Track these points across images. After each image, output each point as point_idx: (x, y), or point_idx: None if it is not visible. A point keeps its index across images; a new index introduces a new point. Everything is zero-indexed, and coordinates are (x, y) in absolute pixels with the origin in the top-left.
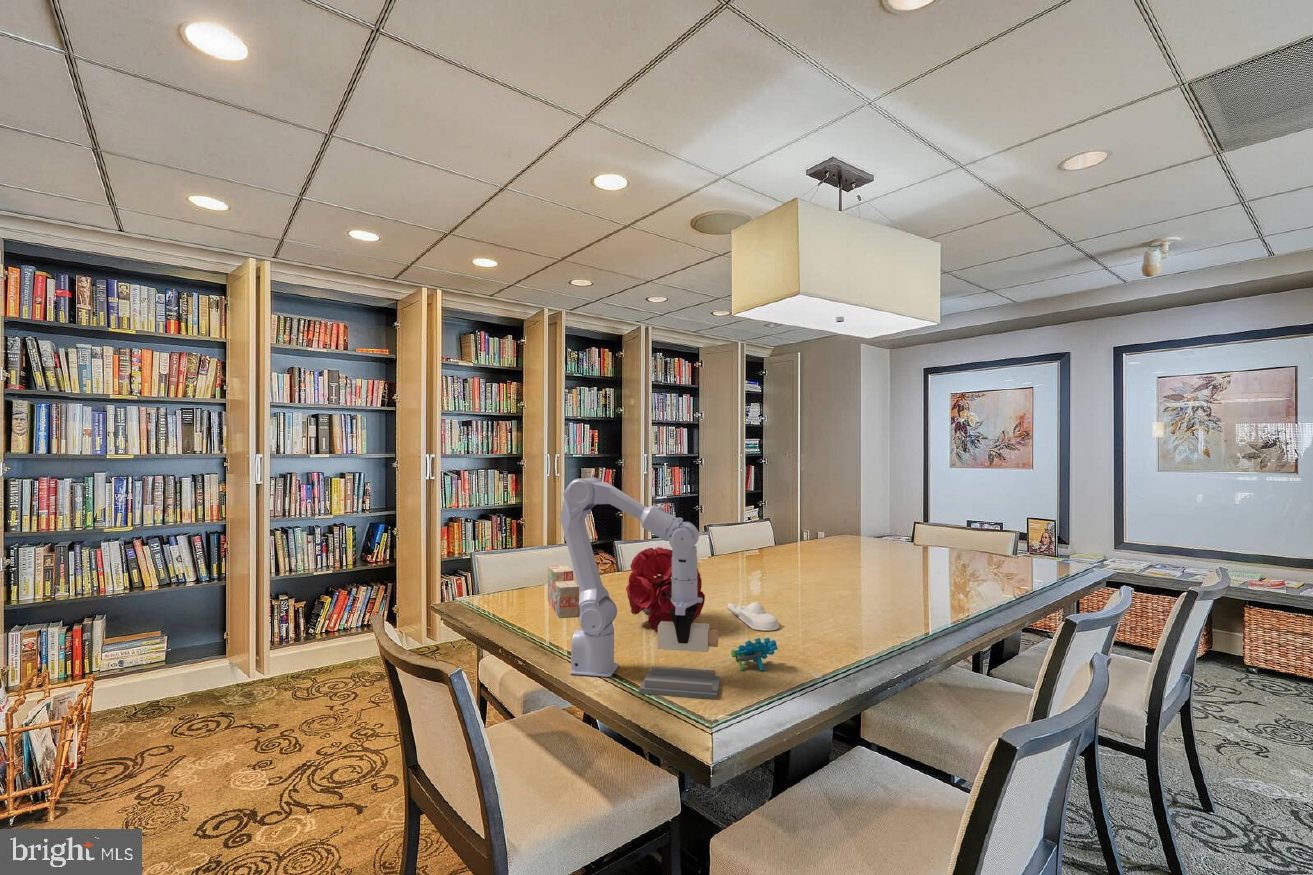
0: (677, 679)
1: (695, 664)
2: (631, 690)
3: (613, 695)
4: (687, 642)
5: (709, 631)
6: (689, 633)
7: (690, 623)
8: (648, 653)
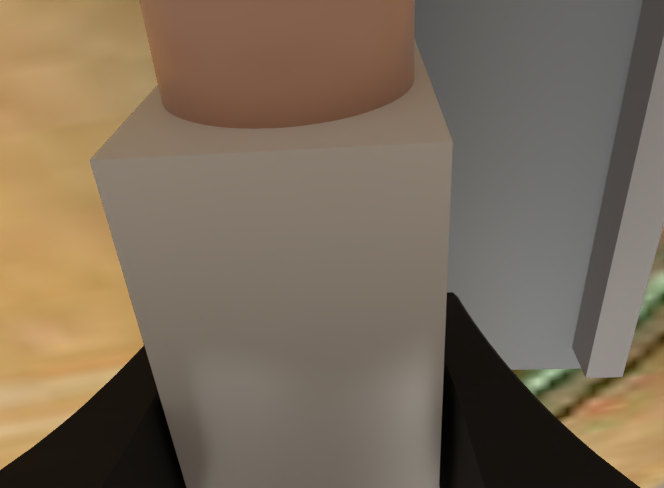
0: (456, 201)
1: (43, 133)
2: (569, 385)
3: (637, 437)
4: (458, 299)
5: (341, 97)
6: (491, 354)
7: (615, 473)
8: (6, 414)
